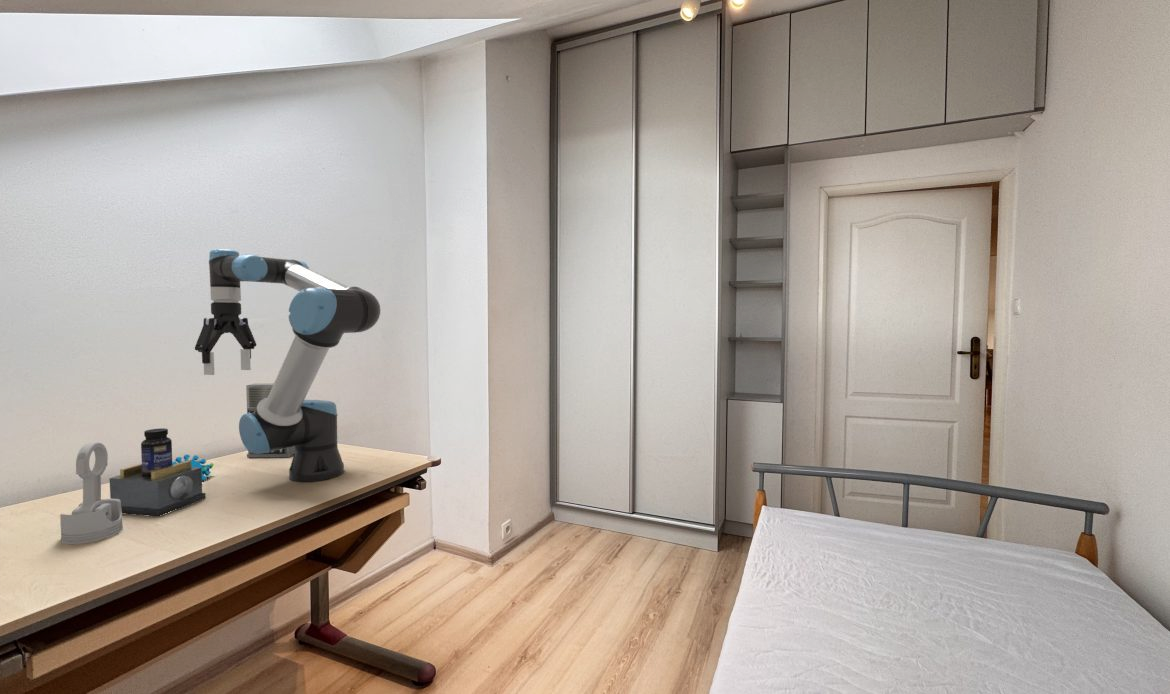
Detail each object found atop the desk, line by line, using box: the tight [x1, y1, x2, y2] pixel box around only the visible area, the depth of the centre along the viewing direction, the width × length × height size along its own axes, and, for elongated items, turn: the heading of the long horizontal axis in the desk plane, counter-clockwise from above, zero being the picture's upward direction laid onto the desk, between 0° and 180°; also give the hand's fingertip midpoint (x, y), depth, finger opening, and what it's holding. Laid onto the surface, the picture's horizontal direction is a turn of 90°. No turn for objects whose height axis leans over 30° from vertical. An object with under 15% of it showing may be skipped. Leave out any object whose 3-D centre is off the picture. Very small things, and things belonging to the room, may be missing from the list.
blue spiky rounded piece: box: [172, 454, 215, 482], centre depth 155 cm, size 11×6×10 cm
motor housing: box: [108, 460, 207, 517], centre depth 135 cm, size 15×13×10 cm
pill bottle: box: [140, 427, 173, 476], centre depth 134 cm, size 6×6×11 cm
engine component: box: [59, 442, 124, 545], centre depth 117 cm, size 11×20×10 cm
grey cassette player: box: [245, 382, 295, 458], centre depth 182 cm, size 14×6×25 cm, turn 95°
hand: (228, 372), depth 159 cm, fingers open, 13 cm apart
